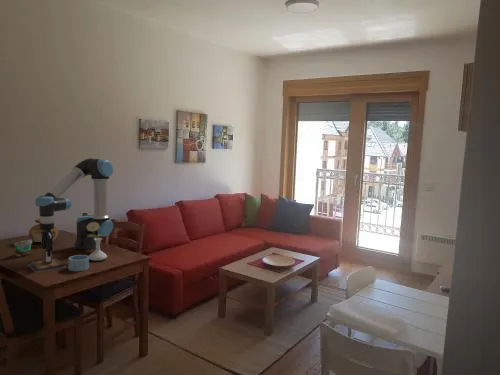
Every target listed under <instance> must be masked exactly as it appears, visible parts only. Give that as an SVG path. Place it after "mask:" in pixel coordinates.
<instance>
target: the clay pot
mask: <svg viewBox="0 0 500 375" xmlns="http://www.w3.org/2000/svg"><path fill="white" fill-rule="evenodd" d="M39 218H40V217H37V218H35V219H34V223H35V225H33V226H31V227H30V229H29V232H28V234H29V238H30V239H31V240H32V242H34V243H36V242H42V238H41V231H43V230H40V219H39ZM51 233H52V235H53V241H54V240H56V238H57V237H58V235H59V229H58V226H56V225H55V224H54V229H51Z"/></svg>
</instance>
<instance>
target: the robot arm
mask: <svg viewBox="0 0 500 375" xmlns="http://www.w3.org/2000/svg"><path fill="white" fill-rule="evenodd" d="M113 172H114V168H113V164H112V163H111V162H110V160H108V159H104V158H86V159H84V160H81V161H80V162H78V163H77V164H76V165H75V166H73V167H72V168H71V171H70V172H69V173H67V174H66V175H65V176H64V177H63V178H62V179H61V180H60V181H58V183H56V184H55V185H54V186H53V187H52V188H51V189H49V191H48V192H46V193H45V194H44V195H39V196H37V197H36V198H35V200H34V204H35V205H36V206H37V207H38V208H39V209H38V210H39V217H38V218H39V219H40V223H39V224H40V230H43V231H41V238H42V243H41V248H42V250H45V249H46V251H45V252H46V262H50V261H51V251H52V252H53V249H54V248H53V247H54V246H53V245H54V244H53V243H54V242H53V241H54V240H53V235H52V233H51V229H54V225H55V223H54V222H55V212H61V211H65V210H70V208H71V207H72V201H71V199H70V198H68V197H63V196H64V194H66V193H67V192H68V191H69V190H70V189H71V188H72V187H73V186H75V184H77V182H79V181H80V180H81V179H84V178H85V177H88V176H90V177H91V178H90V179H91V180H92V181H93V214H91V215H81V216H79V217H77V219H76V238H75V240H74V244H73V249H75V250H77V251H79V250H81V251H89V250H94V249H96V242H95V240H94V239H95V238H96V237H95V236H97V235H99V234H101V233H102V235H101V236H100V237H107V236H109V235H110V234H111V233H112V231H113V230H114V229H113V228H114V223H113V221H111V220H110V215H108V180H109V179H110V177H111V176H112V174H113ZM91 222H92V223H93V222H96V223H98V224H99V229H98V230H96V231H94V233H93V231H89V230H87V228H86V226H87V225H88V224H89V223H91ZM89 234H93V235H95V236H93V237H87V236H88V235H89Z"/></svg>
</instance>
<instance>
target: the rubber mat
mask: <svg viewBox="0 0 500 375" xmlns="http://www.w3.org/2000/svg"><path fill="white" fill-rule="evenodd" d="M26 266H27V267H28V268H29V269H31V270H32V271H33V272H35V273H40V272H41V273H42V272H46V271H51V270H52V271H53V270H57V269H58V270H59V269H63V268H67V266H66V265H65V264H64V266H59V267H54V268H48V269H43V270H37V269H36V268H35V267H34V266H32V265H31V263H30V264H27V265H26Z"/></svg>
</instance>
